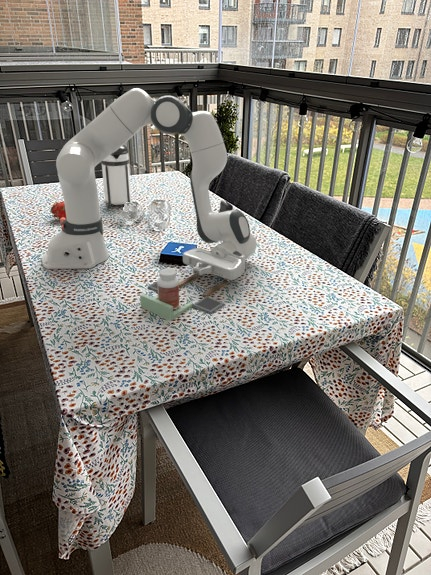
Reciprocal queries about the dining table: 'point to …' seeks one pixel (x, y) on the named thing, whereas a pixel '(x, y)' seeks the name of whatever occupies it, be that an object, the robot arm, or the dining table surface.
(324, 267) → the dining table surface
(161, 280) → the pill bottle
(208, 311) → the trap pits
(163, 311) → the light green u-shaped piece
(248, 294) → the dining table surface
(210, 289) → the walnut track
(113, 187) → the coffee press
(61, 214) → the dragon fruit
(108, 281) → the dining table surface
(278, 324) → the dining table surface
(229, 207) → the phone stand
